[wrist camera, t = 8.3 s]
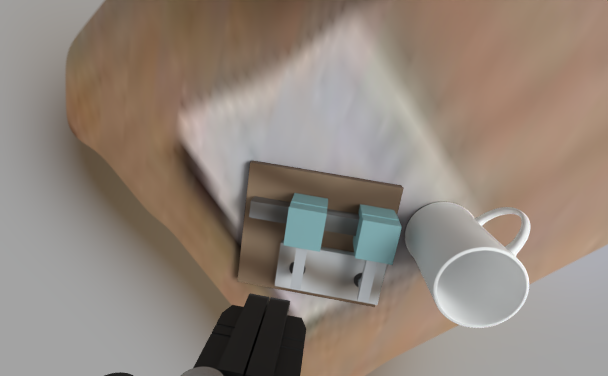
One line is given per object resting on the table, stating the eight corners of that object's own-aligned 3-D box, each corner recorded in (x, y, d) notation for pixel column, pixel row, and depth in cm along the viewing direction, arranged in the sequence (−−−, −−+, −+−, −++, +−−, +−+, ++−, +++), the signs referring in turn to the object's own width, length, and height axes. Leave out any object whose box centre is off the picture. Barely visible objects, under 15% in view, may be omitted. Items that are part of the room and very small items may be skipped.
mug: (473, 169, 39) (531, 201, 27) (516, 223, 40) (588, 275, 28) (390, 230, 42) (410, 282, 30) (432, 278, 43) (467, 346, 31)
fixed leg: (360, 204, 40) (363, 219, 35) (394, 210, 39) (402, 225, 35) (344, 278, 42) (345, 302, 38) (376, 284, 42) (381, 308, 37)
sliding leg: (294, 192, 40) (289, 206, 35) (328, 198, 40) (326, 212, 35) (283, 267, 43) (276, 289, 38) (314, 273, 43) (312, 296, 38)
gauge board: (252, 160, 41) (245, 165, 38) (401, 185, 40) (407, 193, 37) (239, 276, 45) (232, 289, 42) (373, 301, 44) (376, 316, 41)
